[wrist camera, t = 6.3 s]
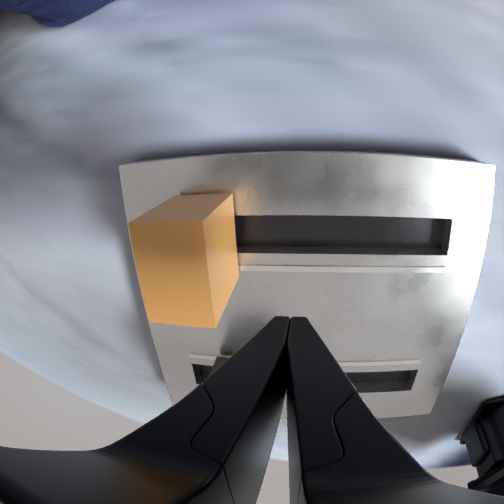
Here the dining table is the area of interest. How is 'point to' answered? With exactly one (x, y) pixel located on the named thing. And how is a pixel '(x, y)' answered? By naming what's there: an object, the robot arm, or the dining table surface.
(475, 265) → the panel
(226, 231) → the orange fader
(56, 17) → the lunch bag
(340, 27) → the dining table surface
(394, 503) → the robot arm
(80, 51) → the dining table surface
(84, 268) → the dining table surface
